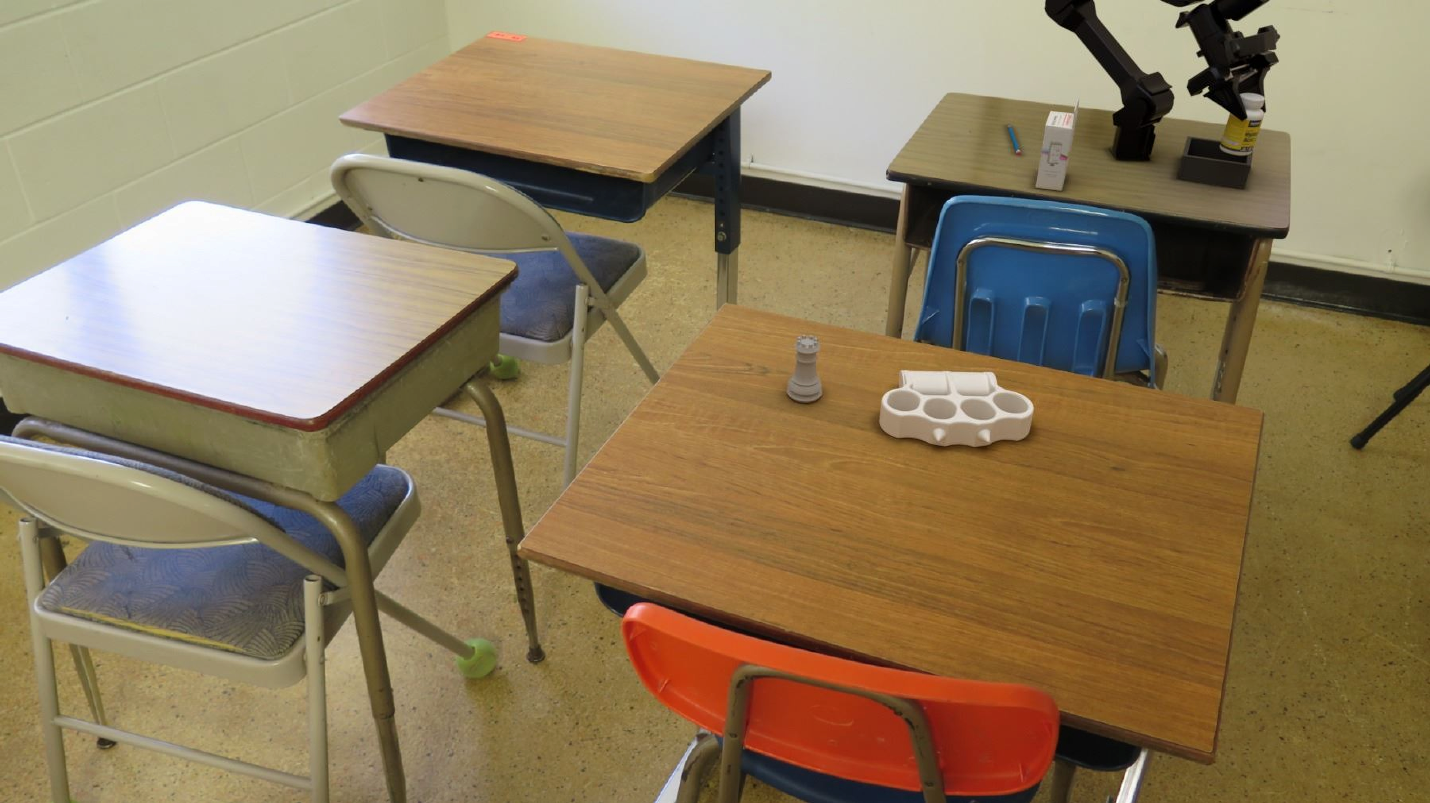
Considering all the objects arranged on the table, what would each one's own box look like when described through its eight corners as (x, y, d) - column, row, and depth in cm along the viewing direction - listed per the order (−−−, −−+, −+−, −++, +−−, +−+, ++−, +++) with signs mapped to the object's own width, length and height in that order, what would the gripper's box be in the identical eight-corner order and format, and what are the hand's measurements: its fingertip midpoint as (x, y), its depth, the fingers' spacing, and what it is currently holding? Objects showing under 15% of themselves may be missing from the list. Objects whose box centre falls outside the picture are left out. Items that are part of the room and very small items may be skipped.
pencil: (1016, 155, 204) (1017, 152, 204) (1006, 126, 219) (1007, 123, 218) (1020, 156, 204) (1021, 152, 204) (1010, 127, 218) (1011, 123, 218)
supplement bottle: (1240, 158, 184) (1258, 103, 178) (1212, 149, 187) (1228, 94, 182) (1258, 152, 186) (1275, 97, 181) (1230, 143, 190) (1246, 89, 185)
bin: (1176, 179, 194) (1182, 155, 192) (1181, 158, 203) (1187, 136, 200) (1244, 189, 190) (1251, 165, 188) (1246, 168, 199) (1253, 145, 196)
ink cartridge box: (1038, 171, 197) (1052, 93, 189) (1066, 175, 195) (1081, 96, 187) (1033, 188, 190) (1048, 107, 182) (1062, 192, 189) (1077, 111, 181)
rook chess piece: (784, 385, 135) (786, 331, 130) (818, 384, 135) (822, 330, 131) (789, 405, 131) (792, 349, 127) (824, 403, 131) (828, 348, 127)
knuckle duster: (1013, 387, 135) (1039, 455, 122) (872, 384, 135) (884, 452, 123) (1018, 365, 133) (1044, 432, 120) (874, 362, 133) (886, 428, 121)
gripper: (1222, 17, 172) (1264, 103, 171) (1285, 2, 181) (1325, 83, 180) (1168, 54, 182) (1207, 135, 180) (1230, 38, 191) (1268, 115, 190)
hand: (1254, 116), depth 182 cm, fingers closed on supplement bottle, 5 cm apart
